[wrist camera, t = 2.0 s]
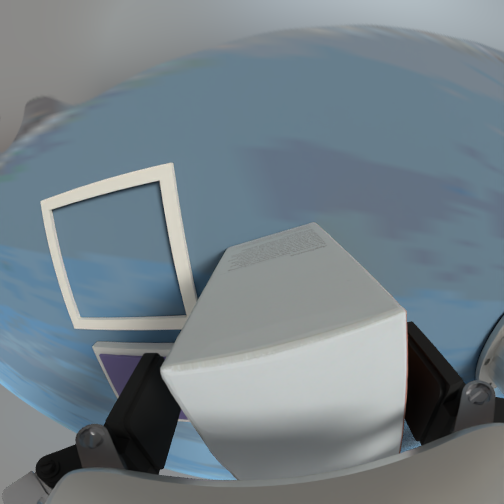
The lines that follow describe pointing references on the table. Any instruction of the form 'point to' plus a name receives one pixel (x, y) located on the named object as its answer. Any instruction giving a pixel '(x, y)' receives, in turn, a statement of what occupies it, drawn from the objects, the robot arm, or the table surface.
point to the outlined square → (175, 235)
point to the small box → (292, 360)
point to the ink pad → (126, 361)
